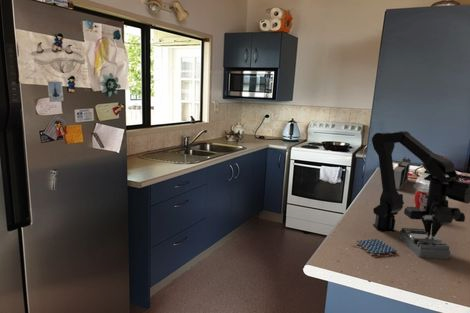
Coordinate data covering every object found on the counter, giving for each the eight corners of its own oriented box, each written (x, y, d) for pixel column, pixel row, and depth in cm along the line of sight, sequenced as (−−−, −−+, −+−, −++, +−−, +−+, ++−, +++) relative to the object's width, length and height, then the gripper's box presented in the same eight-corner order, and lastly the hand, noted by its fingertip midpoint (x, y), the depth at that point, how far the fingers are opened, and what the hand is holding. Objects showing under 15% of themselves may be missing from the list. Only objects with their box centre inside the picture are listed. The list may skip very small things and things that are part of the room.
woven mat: (373, 259, 117) (374, 254, 116) (354, 245, 127) (354, 240, 126) (399, 256, 120) (400, 251, 119) (378, 243, 130) (379, 238, 129)
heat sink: (418, 257, 119) (420, 244, 118) (398, 237, 134) (400, 226, 134) (448, 259, 119) (451, 246, 118) (425, 238, 134) (427, 227, 133)
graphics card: (400, 178, 230) (403, 157, 227) (408, 179, 227) (411, 158, 224) (390, 189, 203) (393, 165, 200) (399, 191, 200) (402, 167, 197)
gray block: (412, 241, 124) (412, 237, 124) (406, 236, 128) (407, 233, 128) (441, 243, 124) (442, 239, 124) (435, 238, 128) (436, 235, 128)
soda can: (411, 216, 159) (415, 190, 157) (412, 211, 165) (415, 187, 163) (429, 219, 156) (433, 193, 153) (429, 214, 162) (433, 189, 160)
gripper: (421, 200, 115) (414, 245, 118) (479, 203, 114) (470, 248, 117) (406, 191, 126) (400, 231, 129) (458, 193, 125) (451, 234, 128)
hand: (430, 236), depth 126 cm, fingers closed
